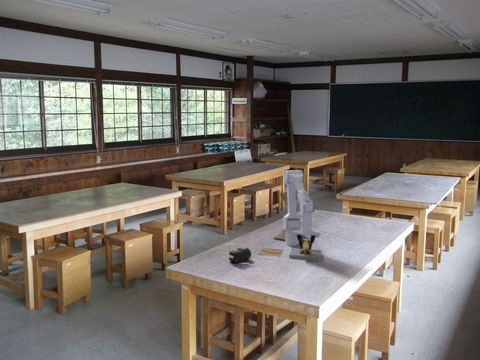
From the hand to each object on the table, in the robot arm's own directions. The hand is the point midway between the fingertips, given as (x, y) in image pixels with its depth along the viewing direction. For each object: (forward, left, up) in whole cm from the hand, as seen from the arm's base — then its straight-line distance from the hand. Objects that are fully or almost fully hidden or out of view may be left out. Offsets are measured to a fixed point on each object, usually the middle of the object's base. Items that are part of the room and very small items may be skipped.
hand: (305, 248), depth 250 cm
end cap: (+17, -32, -5) cm, 37 cm away
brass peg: (0, 0, -2) cm, 2 cm away
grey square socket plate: (0, 0, -4) cm, 4 cm away
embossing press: (-37, -14, -5) cm, 40 cm away
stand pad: (-1, -19, -4) cm, 20 cm away
